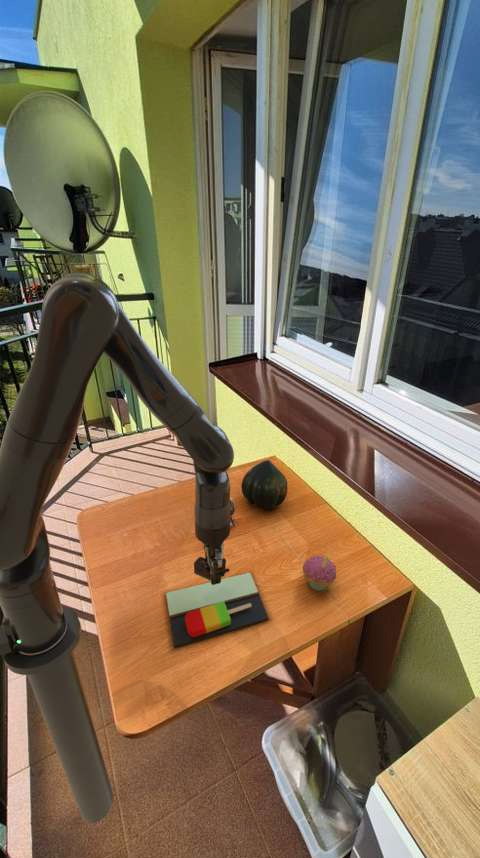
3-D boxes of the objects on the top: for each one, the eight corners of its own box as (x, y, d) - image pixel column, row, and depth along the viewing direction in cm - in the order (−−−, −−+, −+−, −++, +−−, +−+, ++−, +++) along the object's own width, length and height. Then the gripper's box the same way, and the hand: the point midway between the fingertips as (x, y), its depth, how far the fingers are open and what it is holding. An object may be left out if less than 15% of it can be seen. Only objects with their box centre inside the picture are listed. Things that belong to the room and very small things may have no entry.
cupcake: (340, 589, 96) (348, 554, 90) (312, 602, 92) (319, 566, 86) (321, 565, 102) (327, 532, 97) (294, 576, 98) (299, 541, 93)
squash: (254, 510, 112) (281, 467, 113) (225, 488, 122) (251, 448, 123) (279, 521, 123) (304, 482, 124) (251, 500, 132) (274, 464, 134)
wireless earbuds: (219, 586, 85) (219, 575, 84) (193, 574, 88) (192, 564, 86) (229, 571, 89) (230, 561, 88) (204, 560, 92) (204, 550, 90)
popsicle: (183, 618, 84) (183, 612, 83) (247, 598, 90) (247, 592, 90) (189, 640, 80) (189, 634, 79) (255, 617, 86) (255, 611, 85)
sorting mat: (174, 648, 79) (174, 645, 78) (166, 594, 90) (165, 591, 90) (268, 619, 86) (268, 617, 86) (250, 573, 98) (250, 571, 97)
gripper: (188, 498, 84) (191, 554, 92) (201, 543, 73) (203, 602, 81) (221, 493, 87) (221, 548, 95) (239, 535, 75) (237, 593, 83)
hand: (212, 573), depth 88 cm, fingers closed on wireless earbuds, 5 cm apart
